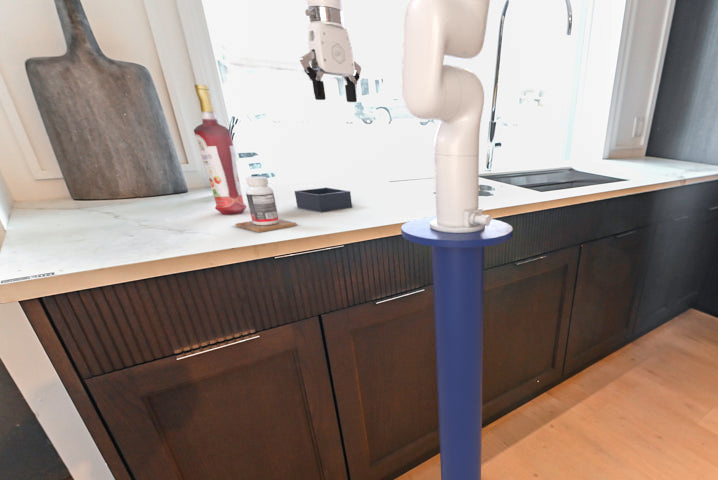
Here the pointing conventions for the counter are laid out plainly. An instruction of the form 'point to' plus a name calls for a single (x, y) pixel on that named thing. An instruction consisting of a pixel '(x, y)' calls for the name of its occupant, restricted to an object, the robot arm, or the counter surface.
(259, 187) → the pill bottle
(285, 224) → the coaster
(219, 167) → the liquor
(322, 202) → the bin
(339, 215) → the counter surface
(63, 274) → the counter surface
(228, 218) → the counter surface
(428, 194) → the counter surface
